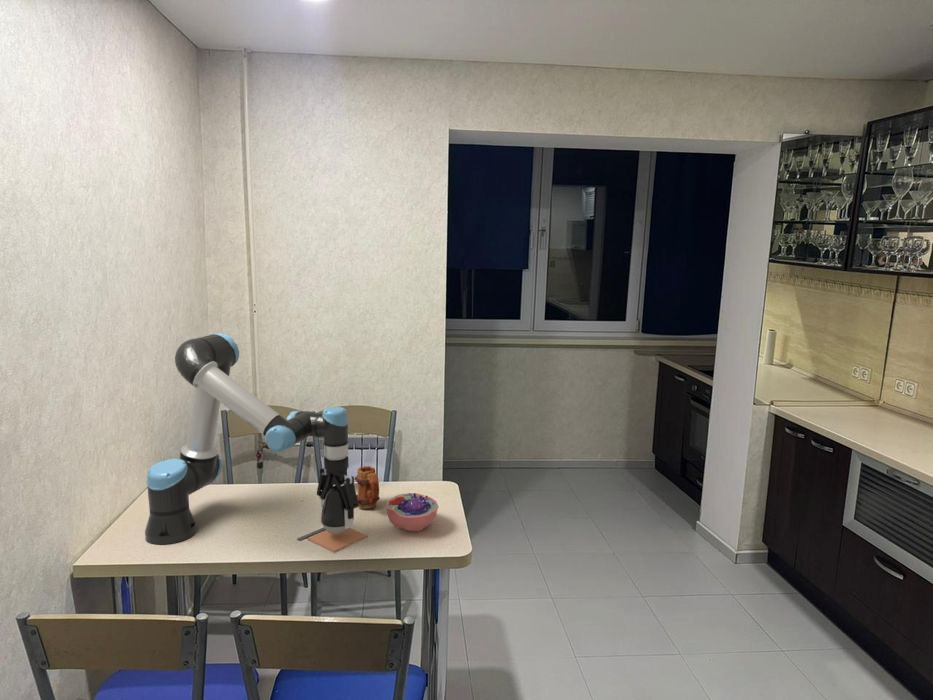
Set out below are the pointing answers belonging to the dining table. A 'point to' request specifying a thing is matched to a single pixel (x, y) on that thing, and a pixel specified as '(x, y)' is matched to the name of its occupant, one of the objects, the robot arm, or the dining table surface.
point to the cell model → (411, 511)
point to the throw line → (311, 534)
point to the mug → (367, 487)
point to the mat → (337, 539)
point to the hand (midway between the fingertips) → (337, 522)
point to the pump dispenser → (334, 512)
